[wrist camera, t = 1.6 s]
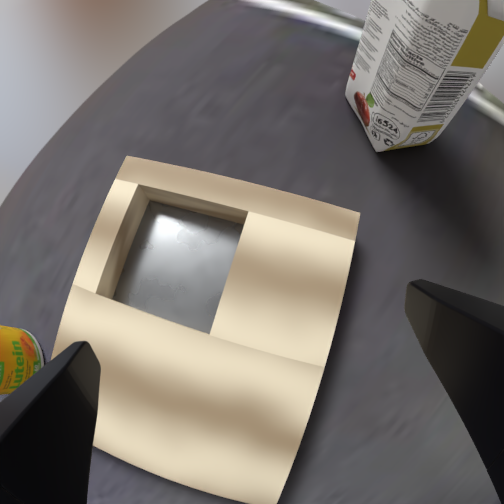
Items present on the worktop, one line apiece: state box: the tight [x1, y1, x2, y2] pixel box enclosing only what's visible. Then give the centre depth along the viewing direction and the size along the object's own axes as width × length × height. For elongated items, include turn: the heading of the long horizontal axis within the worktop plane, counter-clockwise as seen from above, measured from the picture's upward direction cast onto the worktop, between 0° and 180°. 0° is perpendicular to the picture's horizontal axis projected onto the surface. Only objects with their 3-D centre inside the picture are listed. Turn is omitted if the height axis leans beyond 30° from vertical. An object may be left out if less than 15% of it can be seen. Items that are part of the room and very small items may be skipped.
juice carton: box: [345, 0, 504, 152], centre depth 17 cm, size 8×9×19 cm
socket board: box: [51, 156, 360, 504], centre depth 20 cm, size 20×17×3 cm
